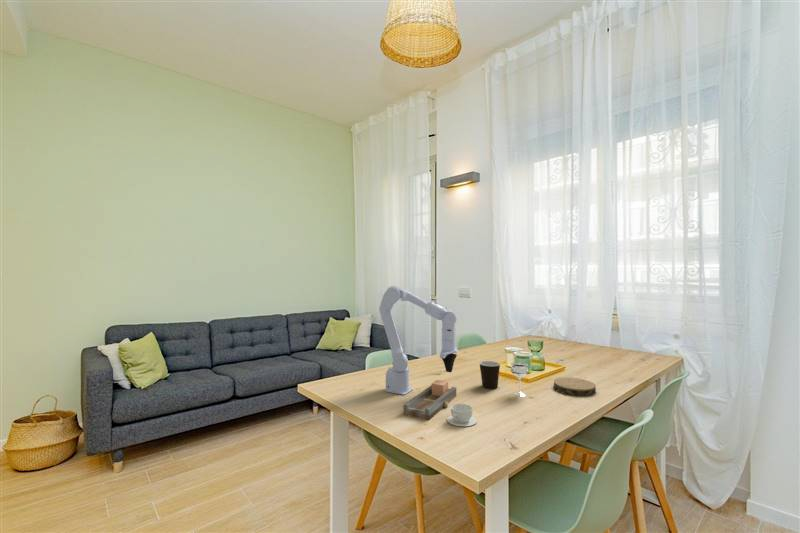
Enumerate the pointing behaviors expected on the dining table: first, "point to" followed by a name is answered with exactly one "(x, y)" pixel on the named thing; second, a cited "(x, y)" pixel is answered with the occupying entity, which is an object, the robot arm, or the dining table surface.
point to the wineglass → (519, 374)
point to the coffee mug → (489, 374)
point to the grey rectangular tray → (428, 403)
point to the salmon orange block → (439, 387)
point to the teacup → (461, 415)
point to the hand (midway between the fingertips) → (449, 371)
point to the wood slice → (574, 386)
